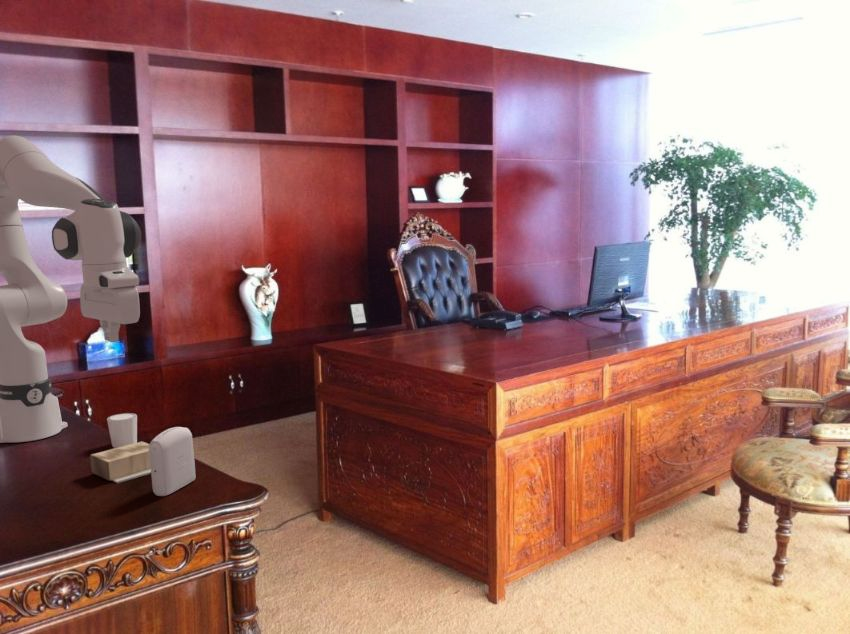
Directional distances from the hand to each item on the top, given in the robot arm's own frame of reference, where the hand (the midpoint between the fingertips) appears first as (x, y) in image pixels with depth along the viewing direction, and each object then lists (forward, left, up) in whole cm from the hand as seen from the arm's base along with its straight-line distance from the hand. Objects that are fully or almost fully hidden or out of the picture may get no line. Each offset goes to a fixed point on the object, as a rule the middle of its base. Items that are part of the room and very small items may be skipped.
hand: (111, 341), depth 173 cm
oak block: (0, -5, -27) cm, 27 cm away
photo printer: (+18, +2, -29) cm, 34 cm away
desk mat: (0, +2, -29) cm, 29 cm away
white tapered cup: (-19, +9, -29) cm, 36 cm away
